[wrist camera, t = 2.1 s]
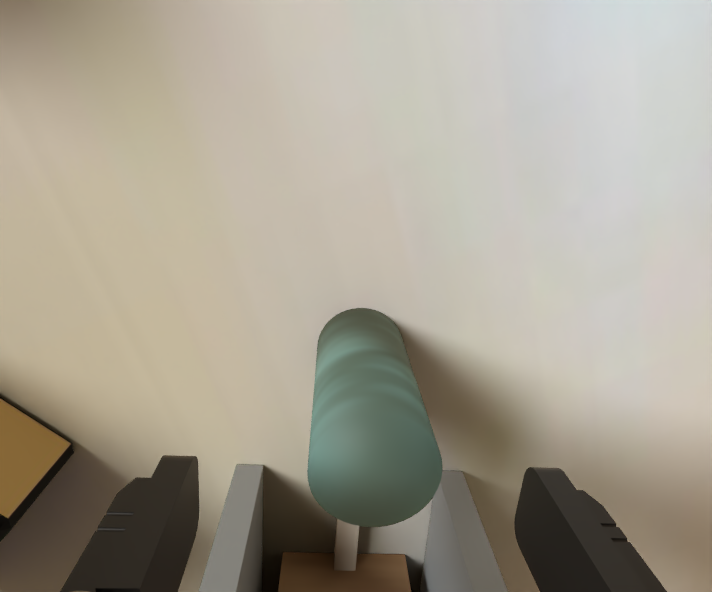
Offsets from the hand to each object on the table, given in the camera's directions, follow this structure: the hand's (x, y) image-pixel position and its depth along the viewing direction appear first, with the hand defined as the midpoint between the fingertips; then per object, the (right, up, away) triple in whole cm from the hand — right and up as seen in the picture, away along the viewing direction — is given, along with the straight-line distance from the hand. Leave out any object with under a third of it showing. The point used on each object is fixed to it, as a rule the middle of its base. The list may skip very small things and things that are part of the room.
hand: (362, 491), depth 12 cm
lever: (0, -5, +11) cm, 12 cm away
